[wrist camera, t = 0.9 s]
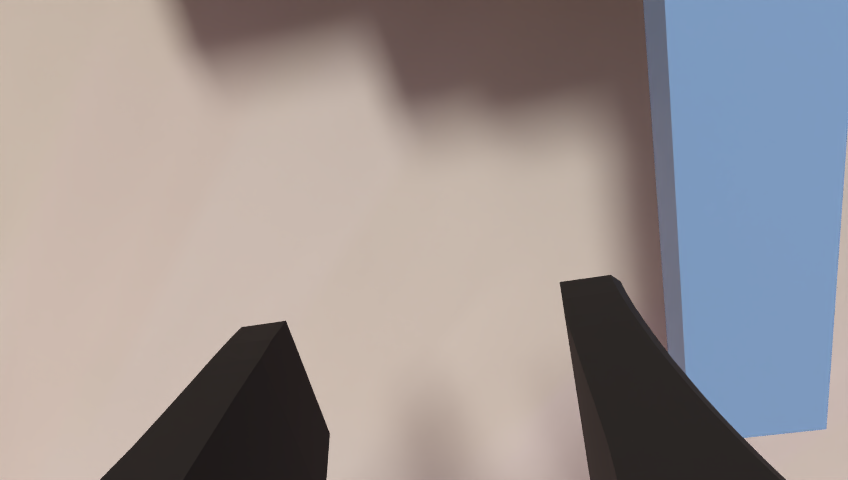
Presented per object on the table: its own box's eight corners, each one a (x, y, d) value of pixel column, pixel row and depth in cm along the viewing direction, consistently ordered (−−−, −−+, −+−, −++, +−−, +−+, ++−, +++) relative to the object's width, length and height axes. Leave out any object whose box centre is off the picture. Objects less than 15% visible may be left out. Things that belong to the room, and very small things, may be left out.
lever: (843, -550, 9) (946, -626, 7) (803, 340, 16) (849, 426, 14) (568, -469, 10) (592, -520, 8) (644, 360, 17) (667, 445, 15)
